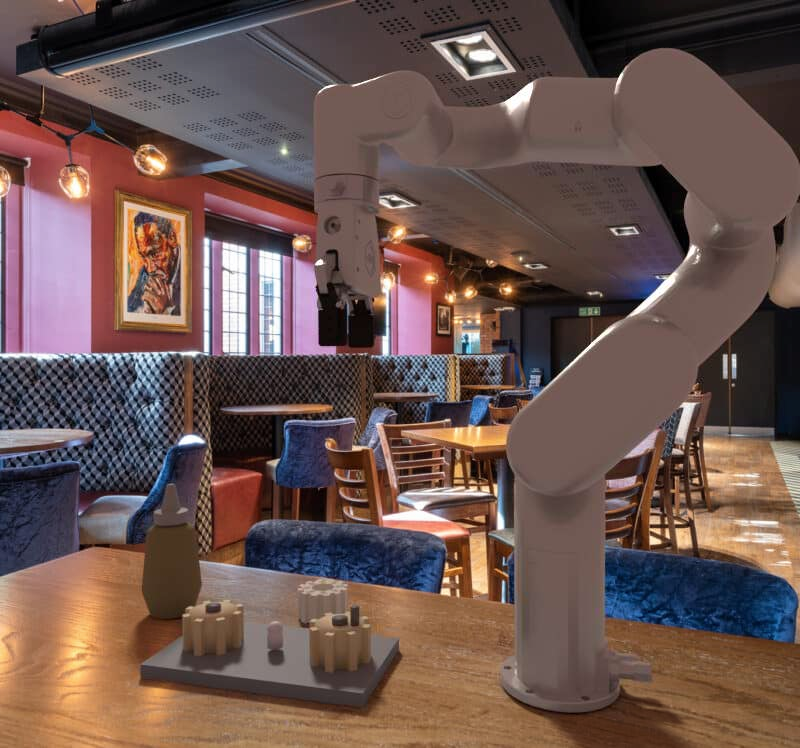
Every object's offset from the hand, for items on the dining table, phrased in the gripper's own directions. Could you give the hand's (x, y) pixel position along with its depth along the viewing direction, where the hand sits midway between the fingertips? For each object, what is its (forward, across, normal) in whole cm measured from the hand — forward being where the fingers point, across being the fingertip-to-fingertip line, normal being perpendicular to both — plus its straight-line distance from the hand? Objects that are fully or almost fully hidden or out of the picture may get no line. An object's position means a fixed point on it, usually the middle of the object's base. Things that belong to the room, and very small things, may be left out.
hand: (347, 346), depth 78 cm
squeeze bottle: (+37, +8, +29) cm, 48 cm away
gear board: (+37, -3, +8) cm, 38 cm away
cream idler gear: (+37, +12, +8) cm, 39 cm away
